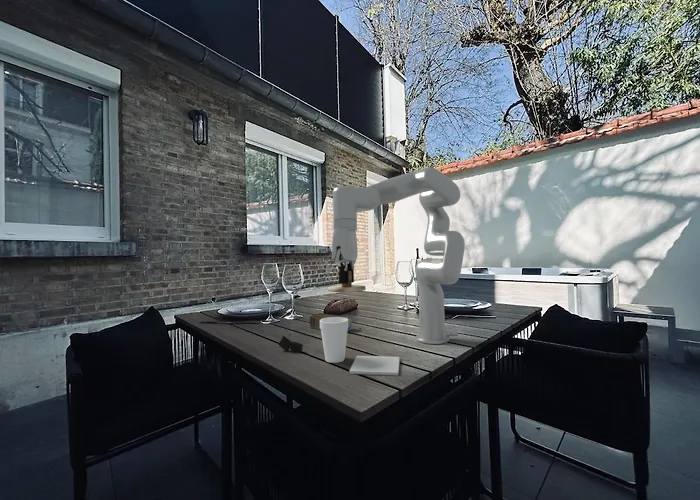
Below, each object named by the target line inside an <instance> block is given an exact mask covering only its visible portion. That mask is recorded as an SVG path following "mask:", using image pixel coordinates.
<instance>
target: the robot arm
mask: <svg viewBox="0 0 700 500" xmlns="http://www.w3.org/2000/svg"><path fill="white" fill-rule="evenodd" d="M418 194H419V196H418V200H419V203H420V205H421V206H422V208H423V210H424V211H425V213H426V216H427V227H426V231H425V237H424V242H423V251H424V253H426V254H427V255H429V256H434V257H443V258H432V257H431V258H424V259H421V260H420V261H418V262H417V264H416V265H415V271H414V272H415V277H416V281H417V282H416V283H417V287H418V289H417V290H418V313H419V314H418V317H419V318H418V319H419V334H416V336H415V339H416V341H417V342H419V343H423V344H428V345H429V344H430V345H441V344H446V343H449V341H450V337H459V336H458V335H459V333H458V330H453V329H452V330H450V329H447V328H446V325H445V324H446V323H445V322H446V320H445V294H444V290H443V288H442V286H441V285H454V284H456V283H457V282H458V281H459V279H460V276H461V272H462V266H463V261H464V257H465V256H464V255H465V247H466V245H465V244H466V243H465V238H464V236H463V235H462V234H461V232H460V231H457V230H450V224H451V220H450V217H449V215H448V213H447V211H446V210H445V209H444V207H452V206H454V205H456V204H457V203H458V202H459V201H460V199H461V190H460V188H459V186H458V185H457V183H455V182H454V181H453V180H452V179H450V178H449V177H448V176H446V174H444V173H443V172H442V171H440V170H439V169H437V168H435V167H431V166H428V167H424V168H421V169H418V170H413V171H410V172H406V173H404V174H400V175H397V176H394V177H390V178H387V179H385V180H381V181H380V182H377V183H374V184H371V185H368V186H365V187H353V186H349V185H348V186H347V185H345V186H344V185H341V186H337V187H335V188H334V189H333V191H332V211H333V213H332V214H333V218H332V220H333V232H332V240H331V241H332V242H331V260H332V261H333V262H334V264H335V265H336V266H337V271H338V283H339V284H340V285H342V284H348V283H349V272H348V271H351V275H352V284H353V283H354V282H355V264H356V262H357V259H358V255H359V254H358V237H357V231H358V217H357V215H358V214H359V213H362V212H368V211H373V210H375V209H376V208H377V207H379V206H381V205H388V204H393V203H396V202H399V201H402V200H404V199H407V198H410V197H413V196H415V195H418Z"/></svg>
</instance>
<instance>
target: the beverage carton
mask: <svg viewBox="0 0 700 500" xmlns="http://www.w3.org/2000/svg"><path fill="white" fill-rule="evenodd" d="M329 317H343V318H347V319H348V330H347V332H348V331H351V330H352V317H351V316H347V315H346V316H345V315H338V314H337V315H336V314H329V313H320V312H318V313H317V314H313V315H309V327H310V329H313V330H319V331H321V329H320V320H321V319H323V318H329Z"/></svg>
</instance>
